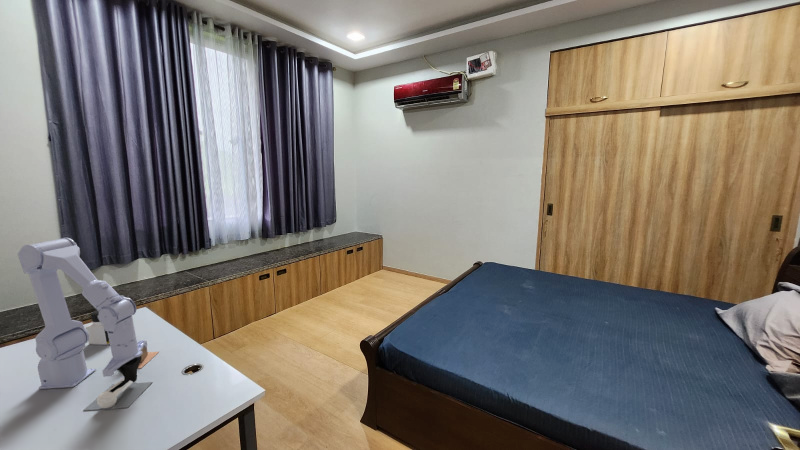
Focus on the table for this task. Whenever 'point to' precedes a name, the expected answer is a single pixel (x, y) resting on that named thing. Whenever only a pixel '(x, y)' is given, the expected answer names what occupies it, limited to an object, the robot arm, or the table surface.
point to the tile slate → (123, 397)
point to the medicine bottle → (97, 331)
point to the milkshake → (114, 393)
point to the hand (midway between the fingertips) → (131, 381)
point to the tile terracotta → (147, 359)
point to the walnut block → (144, 354)
